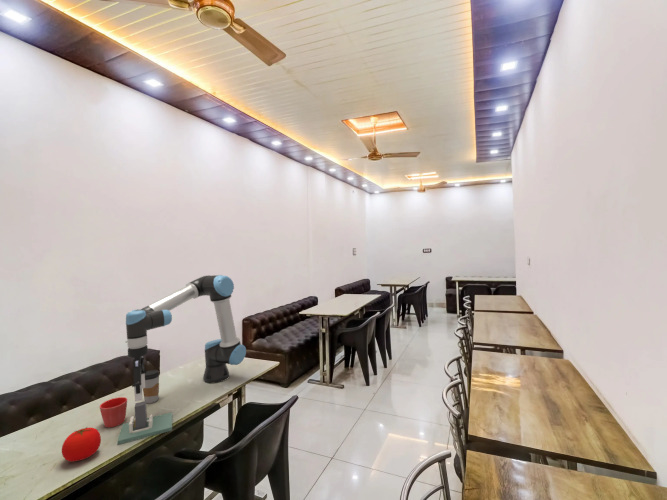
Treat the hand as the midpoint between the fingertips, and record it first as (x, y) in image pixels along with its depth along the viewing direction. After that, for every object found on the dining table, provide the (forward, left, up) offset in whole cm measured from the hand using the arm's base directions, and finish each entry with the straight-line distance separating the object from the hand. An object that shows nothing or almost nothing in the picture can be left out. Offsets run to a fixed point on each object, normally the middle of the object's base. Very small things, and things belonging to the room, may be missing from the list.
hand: (140, 394), depth 141 cm
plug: (0, 0, -14) cm, 14 cm away
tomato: (+19, +10, -16) cm, 27 cm away
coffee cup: (-2, -31, -16) cm, 35 cm away
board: (-2, 0, -16) cm, 16 cm away
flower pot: (+12, -14, -16) cm, 25 cm away
